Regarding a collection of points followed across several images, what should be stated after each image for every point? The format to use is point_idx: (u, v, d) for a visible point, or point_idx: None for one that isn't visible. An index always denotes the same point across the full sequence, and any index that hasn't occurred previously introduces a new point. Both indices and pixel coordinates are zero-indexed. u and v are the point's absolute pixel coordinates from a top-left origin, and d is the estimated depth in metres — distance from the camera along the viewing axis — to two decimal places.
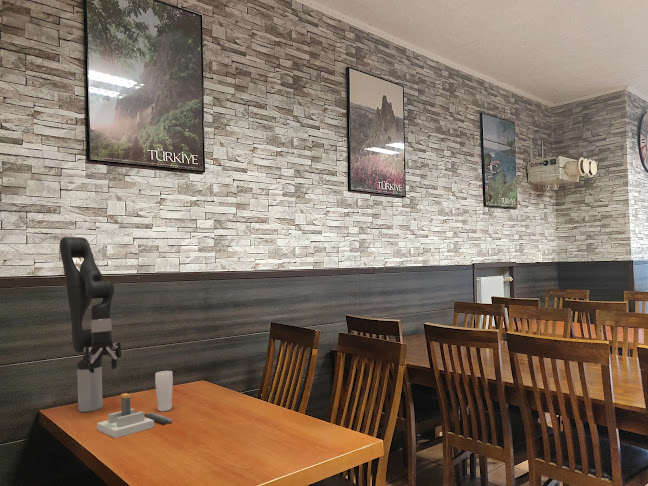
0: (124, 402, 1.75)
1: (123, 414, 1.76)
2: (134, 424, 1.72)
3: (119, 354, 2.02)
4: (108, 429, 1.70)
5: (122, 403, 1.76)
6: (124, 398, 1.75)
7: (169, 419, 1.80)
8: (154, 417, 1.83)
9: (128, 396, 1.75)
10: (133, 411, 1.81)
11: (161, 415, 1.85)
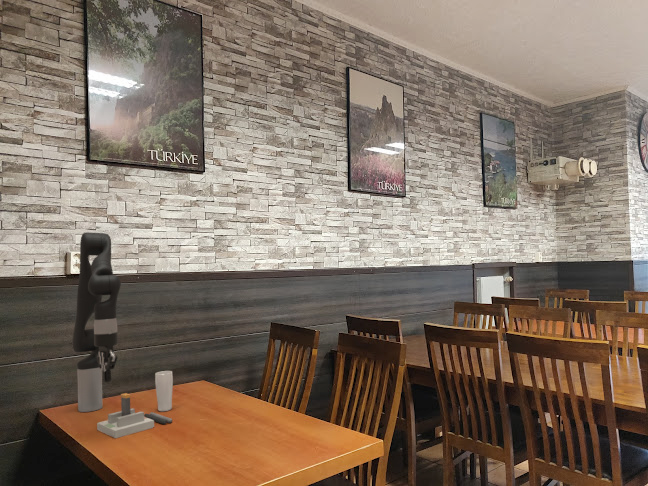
0: (124, 402, 1.75)
1: (123, 414, 1.76)
2: (134, 424, 1.72)
3: None
4: (108, 429, 1.70)
5: (122, 403, 1.76)
6: (124, 398, 1.75)
7: (169, 419, 1.80)
8: (154, 417, 1.83)
9: (128, 396, 1.75)
10: (133, 411, 1.81)
11: (161, 415, 1.85)
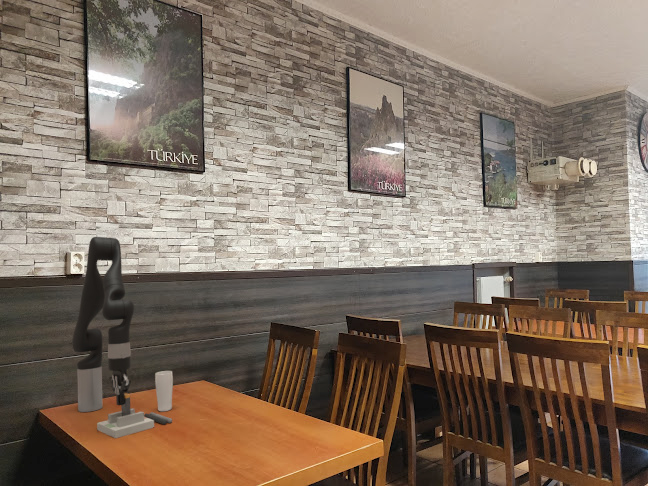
0: (124, 402, 1.75)
1: (123, 414, 1.76)
2: (134, 424, 1.72)
3: None
4: (108, 429, 1.70)
5: None
6: (124, 398, 1.75)
7: (169, 419, 1.80)
8: (154, 417, 1.83)
9: (128, 396, 1.75)
10: (133, 411, 1.81)
11: (161, 415, 1.85)
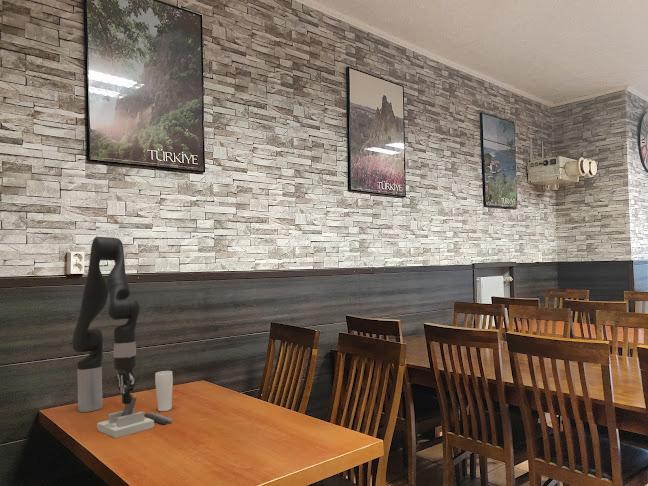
0: None
1: (124, 413, 1.76)
2: (134, 424, 1.72)
3: None
4: (108, 429, 1.70)
5: None
6: (131, 397, 1.77)
7: (169, 419, 1.80)
8: (154, 417, 1.83)
9: (135, 396, 1.77)
10: (133, 411, 1.81)
11: (161, 415, 1.85)
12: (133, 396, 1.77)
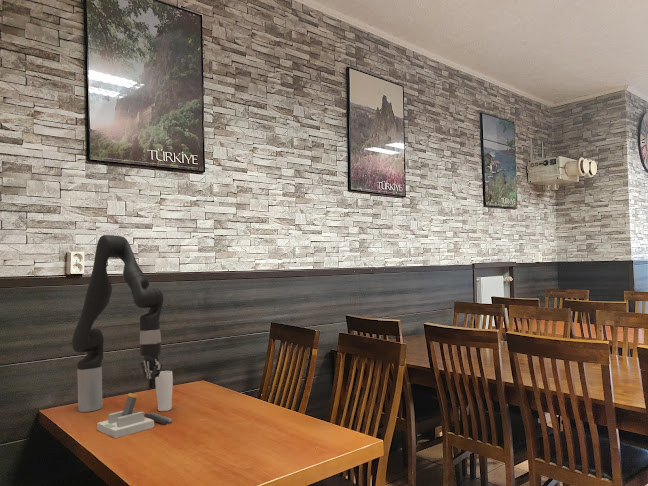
0: (129, 401, 1.77)
1: (124, 413, 1.76)
2: (134, 424, 1.72)
3: None
4: (108, 429, 1.70)
5: (127, 402, 1.78)
6: (131, 397, 1.77)
7: (169, 419, 1.80)
8: (154, 417, 1.83)
9: (135, 396, 1.77)
10: (133, 411, 1.81)
11: (161, 415, 1.85)
12: (133, 396, 1.77)
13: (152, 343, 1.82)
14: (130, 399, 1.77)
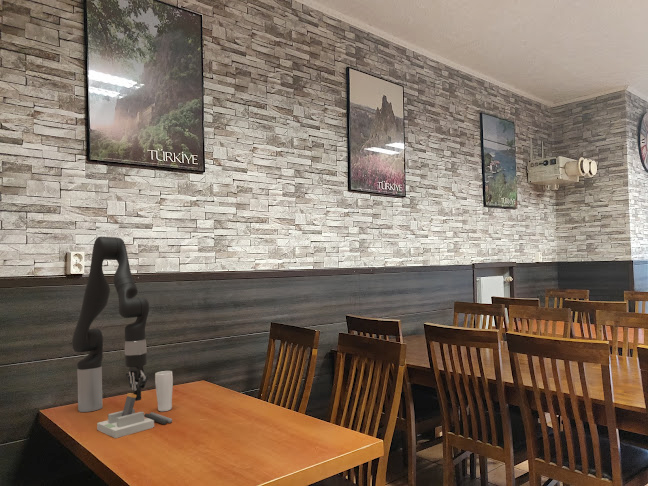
0: (129, 401, 1.77)
1: (124, 413, 1.76)
2: (134, 424, 1.72)
3: None
4: (108, 429, 1.70)
5: (126, 402, 1.78)
6: (130, 397, 1.77)
7: (169, 419, 1.80)
8: (154, 417, 1.83)
9: (134, 396, 1.77)
10: (133, 411, 1.81)
11: (161, 415, 1.85)
12: (132, 396, 1.77)
13: (137, 354, 1.77)
14: (129, 399, 1.77)
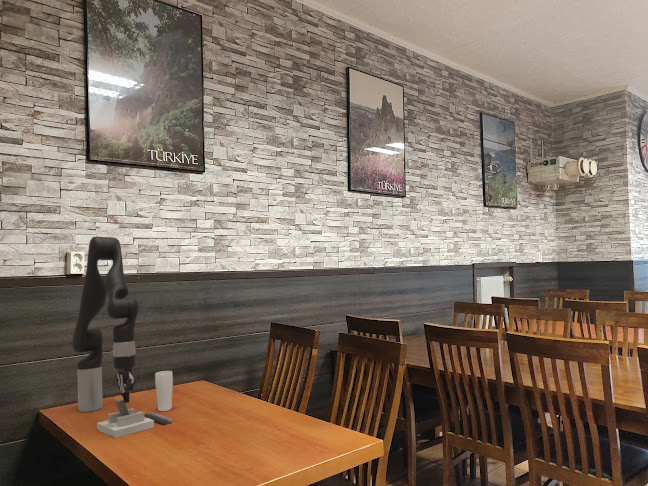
0: (119, 405, 1.74)
1: (122, 415, 1.75)
2: (134, 424, 1.72)
3: None
4: (108, 429, 1.70)
5: (118, 405, 1.75)
6: (118, 401, 1.74)
7: (169, 419, 1.80)
8: (154, 417, 1.83)
9: (121, 398, 1.74)
10: (133, 411, 1.81)
11: (161, 415, 1.85)
12: (119, 400, 1.73)
13: (126, 355, 1.74)
14: (118, 403, 1.74)
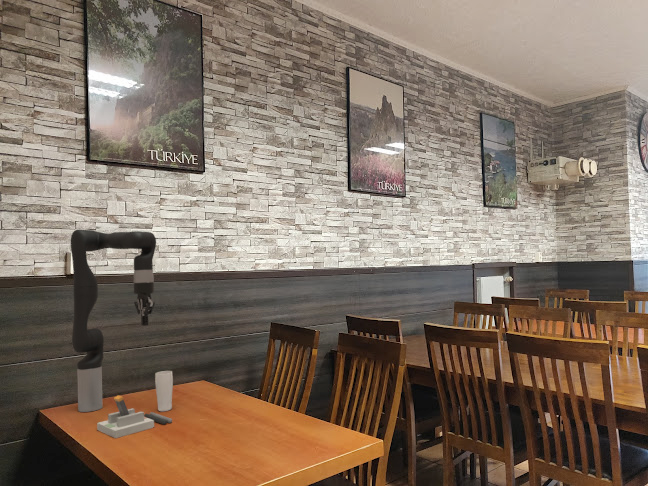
0: (119, 405, 1.74)
1: (122, 415, 1.75)
2: (134, 424, 1.72)
3: None
4: (108, 429, 1.70)
5: (118, 406, 1.75)
6: (118, 401, 1.73)
7: (169, 419, 1.80)
8: (154, 417, 1.83)
9: (121, 399, 1.74)
10: (133, 411, 1.81)
11: (161, 415, 1.85)
12: (119, 400, 1.73)
13: (145, 282, 1.92)
14: (118, 403, 1.74)
